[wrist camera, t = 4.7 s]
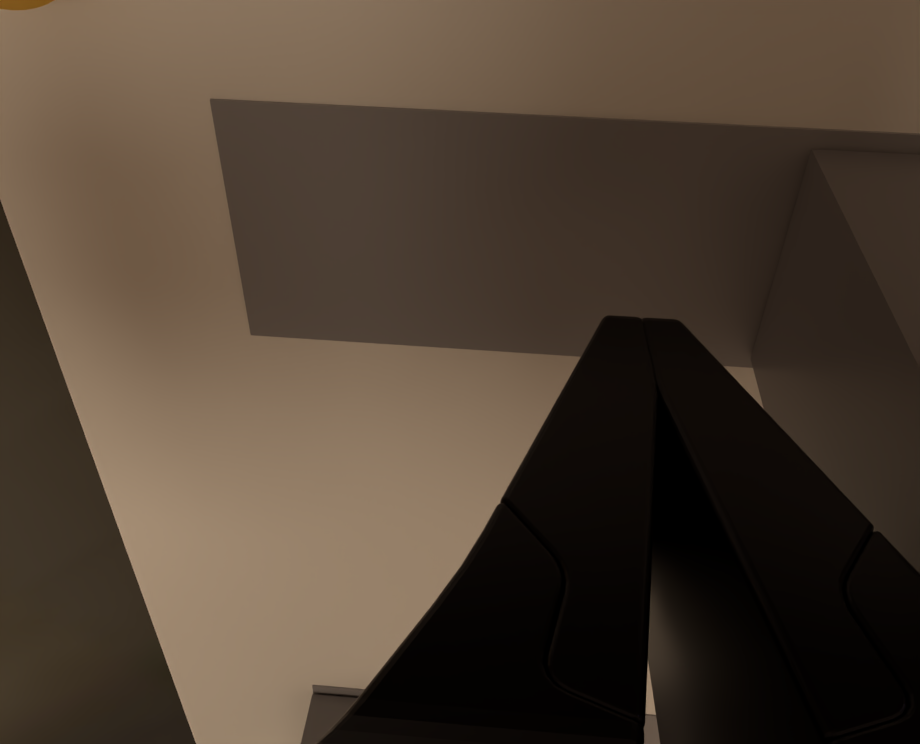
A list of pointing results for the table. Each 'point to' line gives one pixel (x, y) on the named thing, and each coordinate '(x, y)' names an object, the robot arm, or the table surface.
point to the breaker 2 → (852, 334)
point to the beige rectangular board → (388, 272)
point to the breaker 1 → (324, 715)
